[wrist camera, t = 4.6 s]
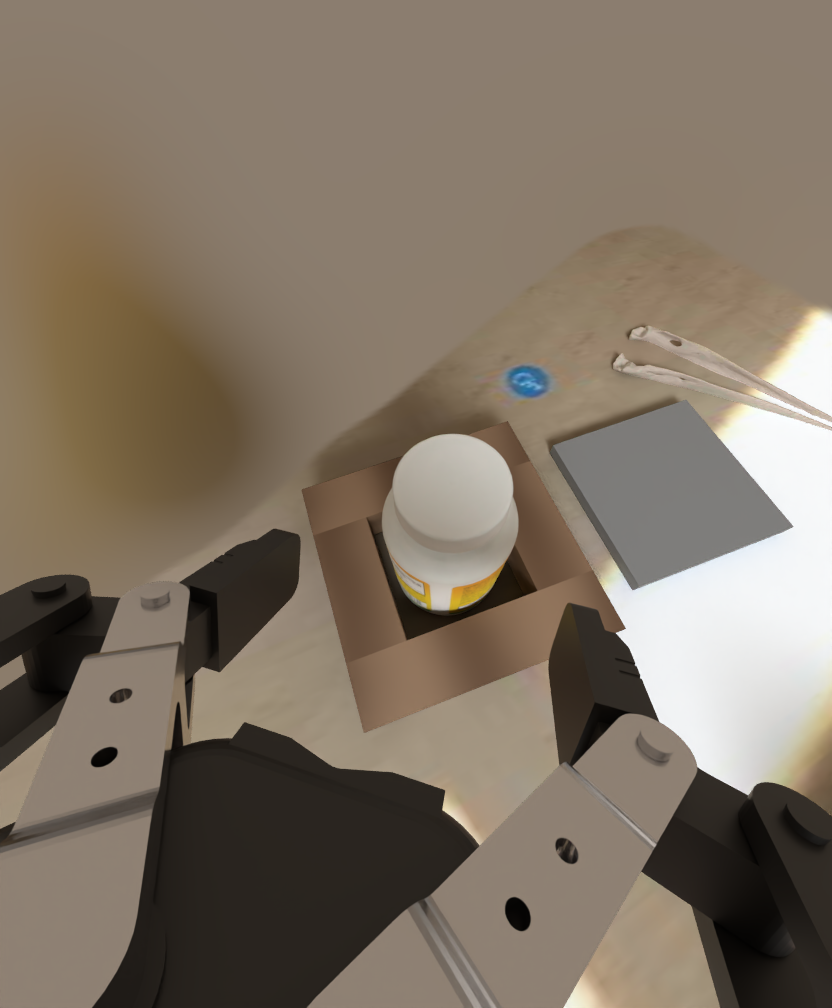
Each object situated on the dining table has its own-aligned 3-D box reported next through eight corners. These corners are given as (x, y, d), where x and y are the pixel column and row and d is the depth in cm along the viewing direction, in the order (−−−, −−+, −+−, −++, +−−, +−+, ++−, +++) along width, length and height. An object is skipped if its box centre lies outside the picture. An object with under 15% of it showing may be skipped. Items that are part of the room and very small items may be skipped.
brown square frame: (501, 446, 25) (507, 421, 23) (604, 636, 20) (625, 628, 17) (314, 509, 24) (301, 489, 21) (373, 728, 19) (364, 732, 16)
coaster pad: (679, 408, 25) (686, 399, 25) (781, 532, 21) (793, 526, 21) (549, 452, 24) (553, 445, 24) (632, 590, 21) (639, 586, 20)
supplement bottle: (388, 608, 21) (351, 548, 12) (406, 515, 23) (385, 409, 14) (492, 625, 20) (530, 574, 12) (500, 528, 22) (537, 424, 14)
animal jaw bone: (604, 377, 27) (618, 355, 26) (628, 334, 29) (643, 311, 27) (882, 501, 24) (922, 486, 22) (890, 444, 25) (928, 425, 24)
